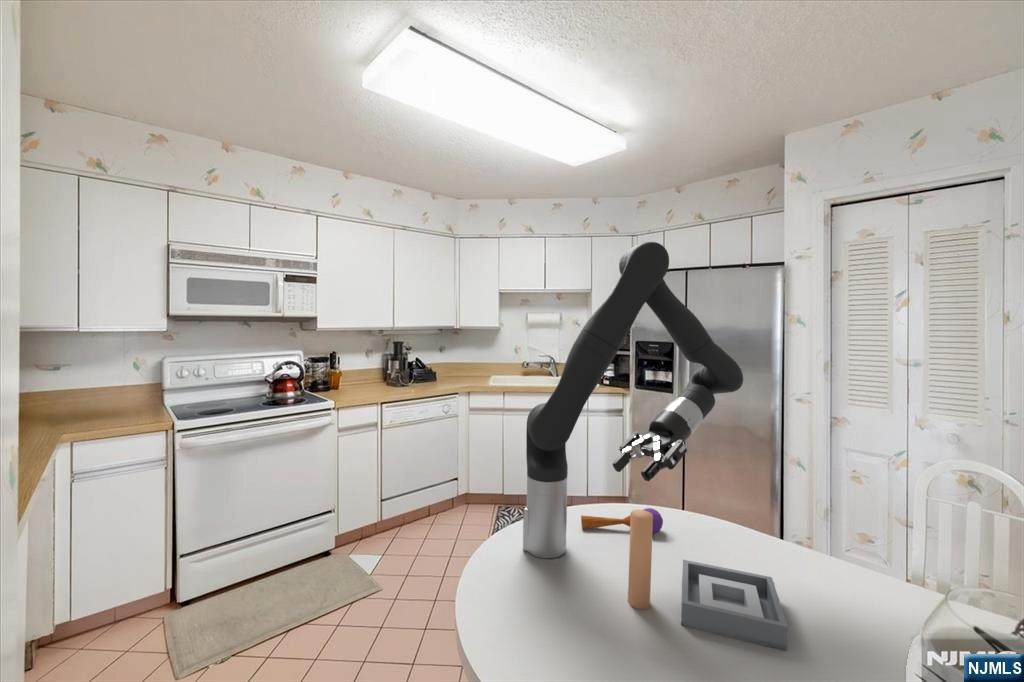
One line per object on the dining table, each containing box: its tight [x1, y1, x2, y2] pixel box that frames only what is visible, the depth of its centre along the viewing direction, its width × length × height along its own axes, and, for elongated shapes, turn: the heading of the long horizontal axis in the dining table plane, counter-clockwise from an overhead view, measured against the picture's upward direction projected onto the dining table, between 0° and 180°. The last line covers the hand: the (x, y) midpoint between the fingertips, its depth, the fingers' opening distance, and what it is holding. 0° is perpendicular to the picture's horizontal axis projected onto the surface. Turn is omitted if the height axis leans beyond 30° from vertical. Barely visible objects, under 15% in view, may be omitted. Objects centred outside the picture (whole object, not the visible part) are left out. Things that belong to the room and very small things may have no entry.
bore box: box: [680, 559, 789, 652], centre depth 83 cm, size 16×15×4 cm
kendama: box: [580, 507, 664, 535], centre depth 113 cm, size 6×6×20 cm
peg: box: [627, 509, 653, 610], centre depth 84 cm, size 4×4×17 cm
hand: (629, 473), depth 90 cm, fingers open, 8 cm apart
